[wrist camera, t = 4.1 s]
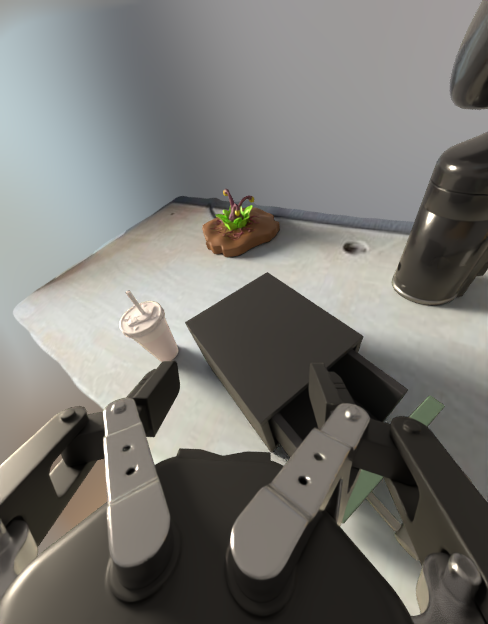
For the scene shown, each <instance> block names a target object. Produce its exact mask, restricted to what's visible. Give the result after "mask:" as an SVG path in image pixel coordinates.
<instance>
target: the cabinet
mask: <svg viewBox="0 0 488 624" xmlns="http://www.w3.org/2000/svg"><path fill="white" fill-rule="evenodd" d="M185 324H186V325H187V327H188V329H189V331H190V332H191V334H192V336H193V338H194V340H195V341H196V343H197V345H198V347H199V348H200V350H201V352H202V354H203V356H204V357H205V359H206V361H207V363H208V364H209V366H210V367H211V369H212V370H213V372H214V373H215V374H216V376H217V377H218V379H219V380H220V381H221V383H222V384H223V386H224V387H225V388H226V390H227V391H228V393H229V394H230V395H231V397H232V398H233V400H234V401H235V402H236V404H237V405H238V407H239V408H240V410H241V411H242V412H243V414H244V415H245V417H246V418H247V419H248V421H249V422H250V424H251V425H252V426H253V428H254V429H255V431H256V432H257V433H258V435H259V436H260V438H261V439H262V441H263V442H264V443H265V445H266V446H267V448H268V449H269V450H270V452H272V451H273V450H274V449H276V448H277V447H278V446H279V445H280V443H279V442H278V441H277V439H276V438H275V437H274V435H273V434H272V433H271V430H270V426H269V423H268V420H270V419H271V418H272V417H273V416H274V415H275V414H277V413H278V412H279V411H280V410H281V409H282V408H284V407H285V406H286V405H287V404H288V403H290V402H291V401H292V400H293V399H294V398H295V397H297V396H298V395H299V394H300V393H301V392H302V391H304V390H305V389H306V388H307V387H308V386H309V370H310V363H324V364H325V366H326V368H327V370H328V369H329V368H331V367H332V366H333V365H334V364H335V363H336V362H338V361H339V360H340V359H341V358H342V357H344V356H345V355H346V354H347V353H348V352H349V351H351V350H352V349H353V350H354V351H356V352H357V353H358V351H359V348H360V345H361V342H362V339H363V336H362V335H361V334H359V333H358V332H356V331H355V330H353V329H352V328H350V327H349V326H347V325H346V324H344V323H343V322H341V321H340V320H338V319H337V318H335V317H334V316H332V315H331V314H329V313H328V312H326V311H325V310H323V309H322V308H320V307H319V306H317V305H316V304H314V303H313V302H311V301H310V300H308V299H307V298H305V297H304V296H302V295H301V294H299V293H298V292H296V291H295V290H293V289H292V288H290V287H289V286H287V285H286V284H284V283H283V282H281V281H280V280H278V279H277V278H275V277H274V276H272V275H271V274H269V273H268V272H267V273H265V274H263V275H262V276H260V277H259V278H257V279H255V280H254V281H252V282H250V283H249V284H247V285H245V286H244V287H242V288H241V289H239V290H237V291H236V292H234V293H232V294H231V295H229V296H228V297H226V298H224V299H223V300H221V301H219V302H218V303H216V304H214V305H213V306H211V307H210V308H208V309H206V310H205V311H203V312H201V313H200V314H198V315H196V316H195V317H193V318H192V319H190V320H188V321H187V322H185Z"/></svg>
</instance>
